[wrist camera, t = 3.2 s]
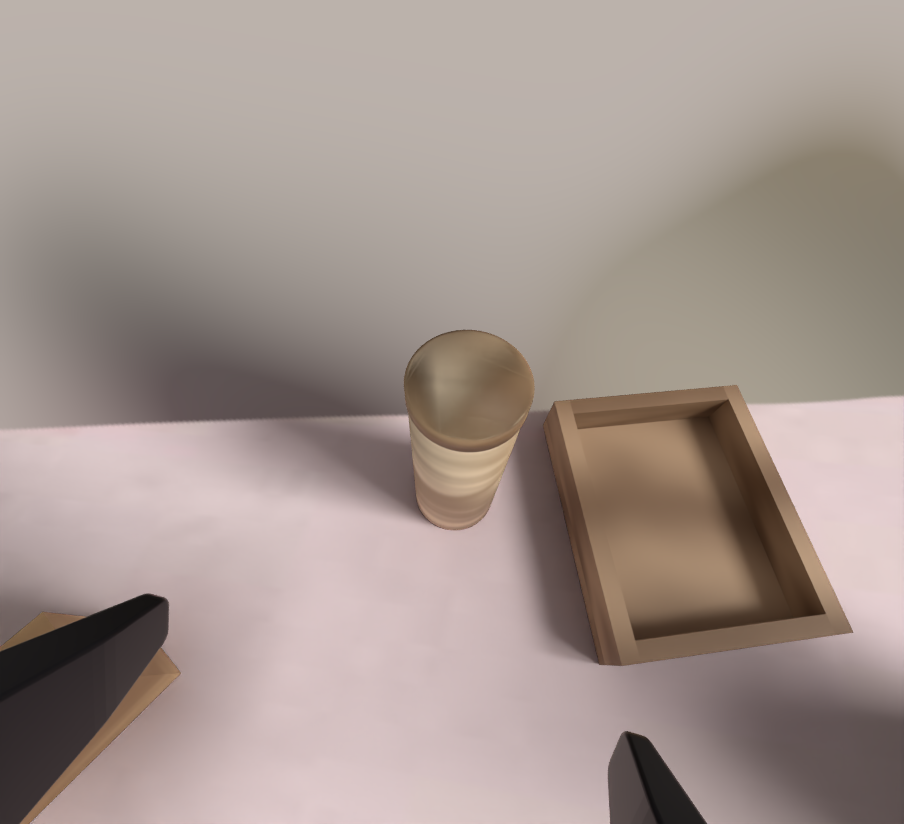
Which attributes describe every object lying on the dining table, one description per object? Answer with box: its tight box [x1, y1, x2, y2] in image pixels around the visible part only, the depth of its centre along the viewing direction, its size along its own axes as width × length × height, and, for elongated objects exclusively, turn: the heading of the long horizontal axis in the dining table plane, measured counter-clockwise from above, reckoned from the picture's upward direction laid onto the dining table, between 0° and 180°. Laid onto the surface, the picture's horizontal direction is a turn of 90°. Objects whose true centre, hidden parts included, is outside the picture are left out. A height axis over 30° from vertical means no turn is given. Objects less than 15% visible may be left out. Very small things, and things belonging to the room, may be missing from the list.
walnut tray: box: [543, 385, 853, 666], centre depth 23 cm, size 12×10×3 cm
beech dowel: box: [404, 330, 534, 530], centre depth 19 cm, size 4×4×11 cm
